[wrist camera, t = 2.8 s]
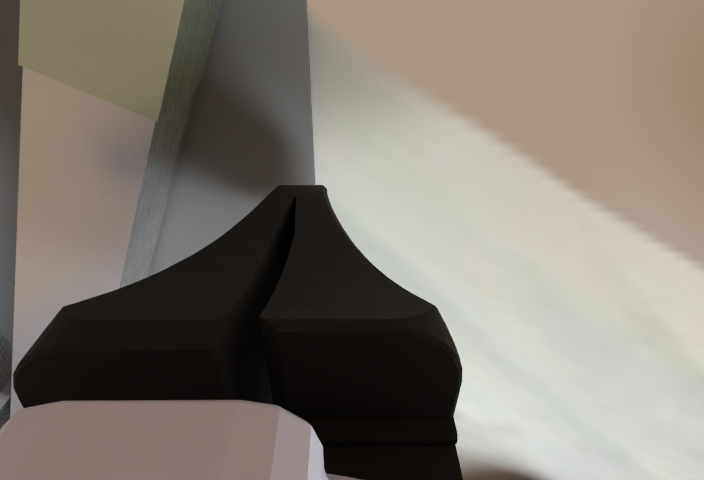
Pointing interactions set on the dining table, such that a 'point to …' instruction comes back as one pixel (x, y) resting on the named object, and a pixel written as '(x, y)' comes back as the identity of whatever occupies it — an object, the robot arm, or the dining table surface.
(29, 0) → the hinged arm
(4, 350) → the fixed arm
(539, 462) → the dining table surface
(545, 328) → the dining table surface
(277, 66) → the mat
